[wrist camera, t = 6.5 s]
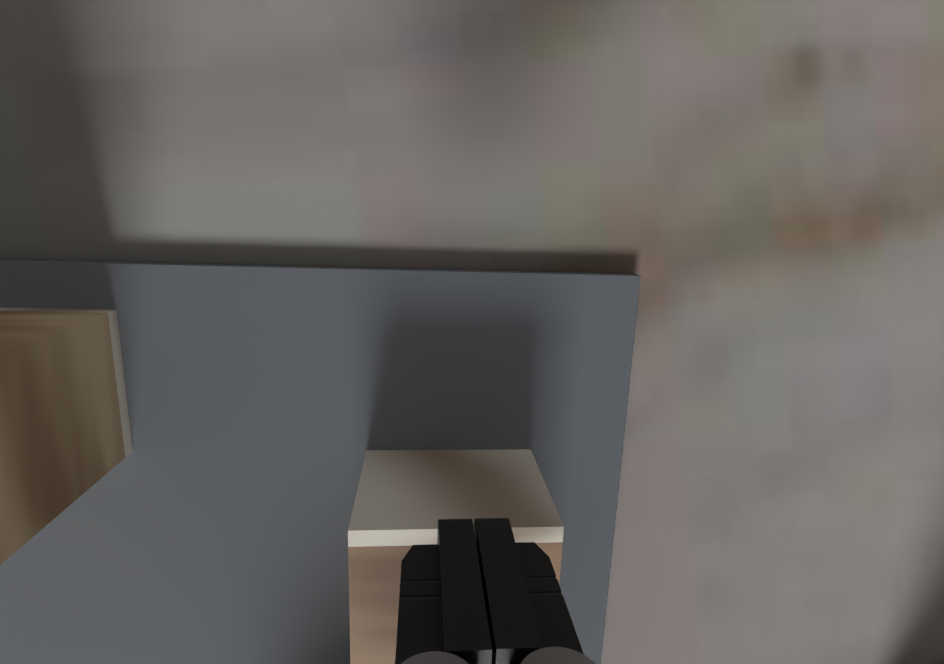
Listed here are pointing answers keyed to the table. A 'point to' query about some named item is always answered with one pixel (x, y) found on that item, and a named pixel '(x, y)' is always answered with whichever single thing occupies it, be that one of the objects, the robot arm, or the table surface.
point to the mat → (307, 444)
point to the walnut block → (432, 524)
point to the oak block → (56, 413)
